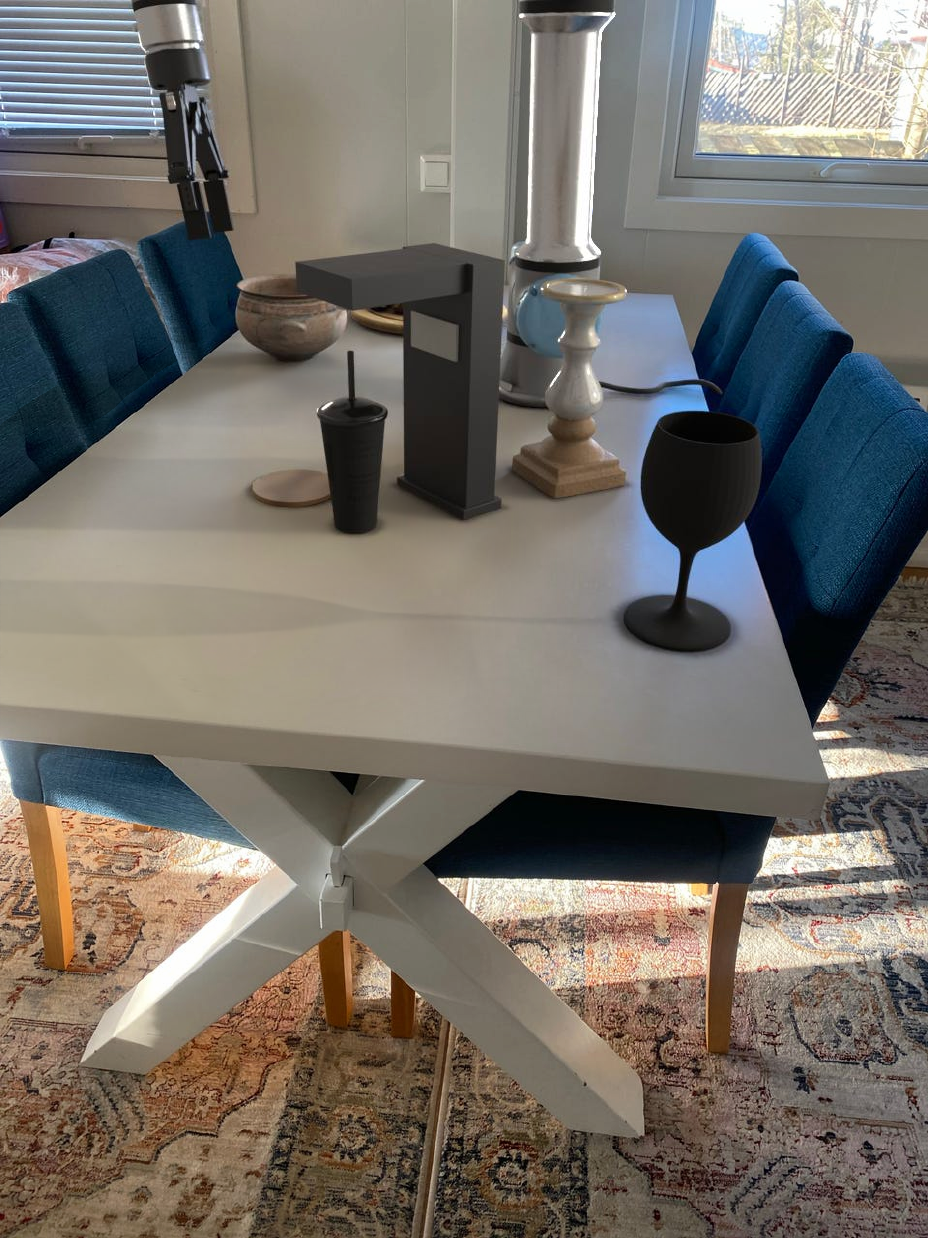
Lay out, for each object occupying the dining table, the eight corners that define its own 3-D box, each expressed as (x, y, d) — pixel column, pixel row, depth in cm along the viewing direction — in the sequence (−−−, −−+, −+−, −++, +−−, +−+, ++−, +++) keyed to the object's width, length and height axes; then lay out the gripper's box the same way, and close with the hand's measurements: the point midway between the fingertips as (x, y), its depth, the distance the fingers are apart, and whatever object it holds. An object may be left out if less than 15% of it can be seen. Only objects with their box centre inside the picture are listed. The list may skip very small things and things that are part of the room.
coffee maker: (433, 474, 126) (436, 241, 111) (501, 507, 117) (513, 260, 103) (303, 513, 115) (287, 259, 100) (367, 552, 106) (360, 281, 92)
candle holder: (554, 499, 120) (569, 300, 108) (509, 468, 128) (519, 280, 116) (626, 485, 124) (649, 292, 112) (579, 456, 133) (595, 274, 121)
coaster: (341, 474, 125) (341, 470, 125) (332, 507, 116) (332, 503, 116) (260, 472, 125) (260, 468, 125) (245, 505, 116) (245, 501, 116)
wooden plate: (416, 293, 217) (416, 254, 212) (537, 316, 201) (540, 274, 197) (316, 319, 194) (314, 276, 190) (444, 348, 178) (445, 301, 174)
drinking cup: (378, 543, 108) (375, 364, 98) (313, 535, 109) (303, 358, 99) (396, 515, 115) (395, 344, 105) (334, 508, 116) (327, 339, 106)
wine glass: (612, 598, 99) (635, 407, 88) (712, 596, 100) (746, 407, 89) (636, 654, 90) (665, 448, 80) (746, 651, 91) (787, 447, 80)
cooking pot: (243, 338, 181) (237, 269, 174) (346, 337, 183) (343, 269, 177) (234, 377, 159) (227, 301, 153) (350, 376, 162) (348, 300, 156)
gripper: (170, 63, 131) (206, 232, 140) (111, 43, 108) (158, 246, 117) (225, 56, 130) (258, 225, 139) (177, 34, 108) (219, 238, 117)
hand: (212, 235), depth 128 cm, fingers open, 13 cm apart
